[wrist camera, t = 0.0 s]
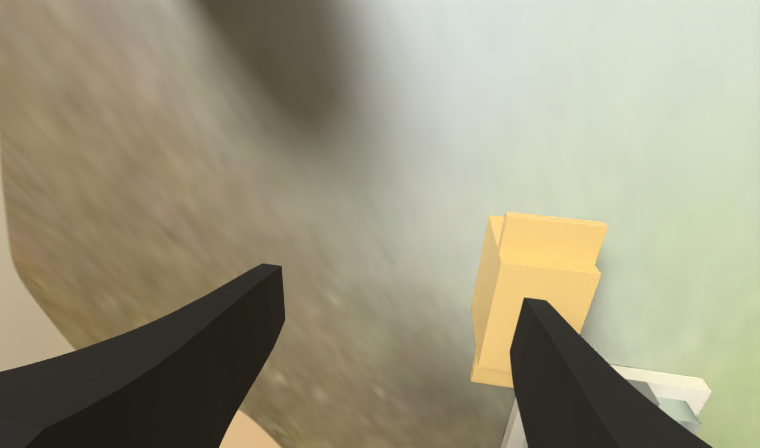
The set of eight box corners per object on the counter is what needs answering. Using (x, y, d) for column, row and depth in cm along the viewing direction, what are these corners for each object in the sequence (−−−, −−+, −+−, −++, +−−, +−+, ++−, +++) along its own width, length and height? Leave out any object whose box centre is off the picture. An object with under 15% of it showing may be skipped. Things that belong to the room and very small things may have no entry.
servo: (532, 337, 23) (553, 406, 19) (466, 327, 24) (472, 393, 19) (575, 190, 19) (615, 235, 15) (494, 183, 20) (510, 224, 15)
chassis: (632, 495, 28) (648, 535, 26) (493, 470, 29) (497, 506, 27) (701, 378, 23) (729, 414, 21) (528, 352, 24) (537, 385, 22)
